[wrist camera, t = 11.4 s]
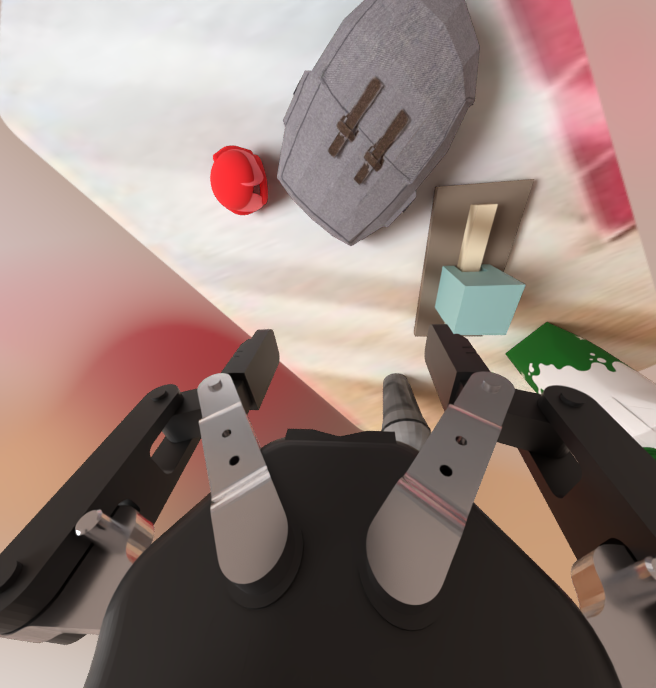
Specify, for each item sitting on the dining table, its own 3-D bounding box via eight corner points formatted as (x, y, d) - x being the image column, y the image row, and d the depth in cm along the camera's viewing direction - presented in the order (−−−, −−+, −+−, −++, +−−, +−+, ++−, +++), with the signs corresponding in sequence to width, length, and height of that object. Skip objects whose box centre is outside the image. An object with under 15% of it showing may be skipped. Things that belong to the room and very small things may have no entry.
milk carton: (496, 354, 39) (597, 475, 23) (549, 313, 35) (725, 426, 18) (532, 377, 41) (651, 505, 24) (587, 341, 36) (782, 468, 20)
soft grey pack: (358, 254, 33) (496, 97, 24) (358, 272, 26) (553, 58, 17) (269, 171, 29) (392, -61, 19) (241, 166, 22) (410, -200, 13)
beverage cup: (420, 390, 45) (456, 506, 29) (383, 400, 48) (398, 512, 31) (408, 362, 42) (441, 475, 25) (370, 374, 45) (377, 484, 28)
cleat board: (435, 186, 28) (443, 186, 25) (527, 179, 27) (546, 178, 24) (413, 332, 39) (417, 343, 36) (478, 332, 38) (488, 343, 35)
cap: (262, 130, 24) (198, 125, 22) (275, 193, 26) (216, 195, 24) (254, 172, 32) (206, 171, 30) (265, 219, 33) (219, 222, 31)
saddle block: (442, 266, 32) (465, 286, 25) (489, 264, 31) (525, 284, 24) (434, 307, 35) (453, 335, 28) (476, 306, 34) (505, 334, 27)
